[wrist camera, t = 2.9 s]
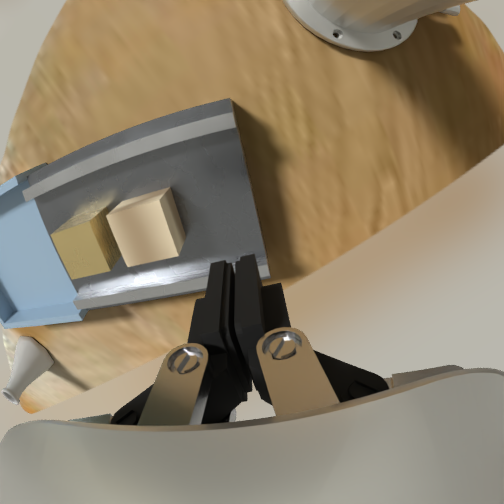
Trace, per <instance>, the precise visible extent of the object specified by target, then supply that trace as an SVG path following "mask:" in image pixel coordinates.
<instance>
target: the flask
mask: <svg viewBox="0 0 504 504" xmlns="http://www.w3.org/2000/svg"><path fill="white" fill-rule="evenodd" d="M53 363H54V361H53V360H52V358H51V357H50V355H49V354H48V352H47V351H46V349H45V348H44V347H42V346H41V345H40V344H39V343H38V342H36V341H35V340H34V339H33V338H32V337H25V336H20V337H19V340H18V342H17V345H16V350H15V356H14V361H13V367H12V372H11V376H10V379H9V382H8V384H7V386H6V388H3V389H2V392H1V393H2V394H3V395H4V396H5V397H6V398H7V399H8V400H9V401H10V402H12V403H13V404H16V405H18V404H19V402H20V400H19V398H20V396H21V394H22V392H23V391H24V390H25V389H26V387H27V386H28V385H29V384H31V383H32V382H33V381H34V380H35V379H37V378H38V377H39V376H40V375H42V374H43V373H44V372H46V371H47V370H48V369H49V368H50V367H51V366H52V365H53Z"/></svg>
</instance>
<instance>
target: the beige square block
mask: <svg viewBox="0 0 504 504" xmlns="http://www.w3.org/2000/svg"><path fill="white" fill-rule="evenodd" d="M106 217H107V220H108V222H109V225H110V227H111V230H112V232H113V235H114V237H115V240H116V242H117V244H118V247H119V249H120V251H121V254H122V256H123V258H124V261H125V263H126V265H127V267H131V266H136V265H140V264H145V263H149V262H154V261H158V260H163V259H168V258H172V257H177V256H179V254H180V252H181V249H182V246H183V244H184V241H185V239H186V235H185V232H184V229H183V226H182V223H181V220H180V217H179V213H178V210H177V207H176V204H175V201H174V198H173V195H172V191H171V188H170V187H169V188H165V189H162V190H158V191H155V192H151V193H148V194H144V195H141V196H138V197H134V198H131V199H128V200H125V201H122V202H121V203H120V204H119V205H117V206H116V207H115V208H114V209H113V210H112V211H111V212H110V213H109V214H108V215H106Z"/></svg>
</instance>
